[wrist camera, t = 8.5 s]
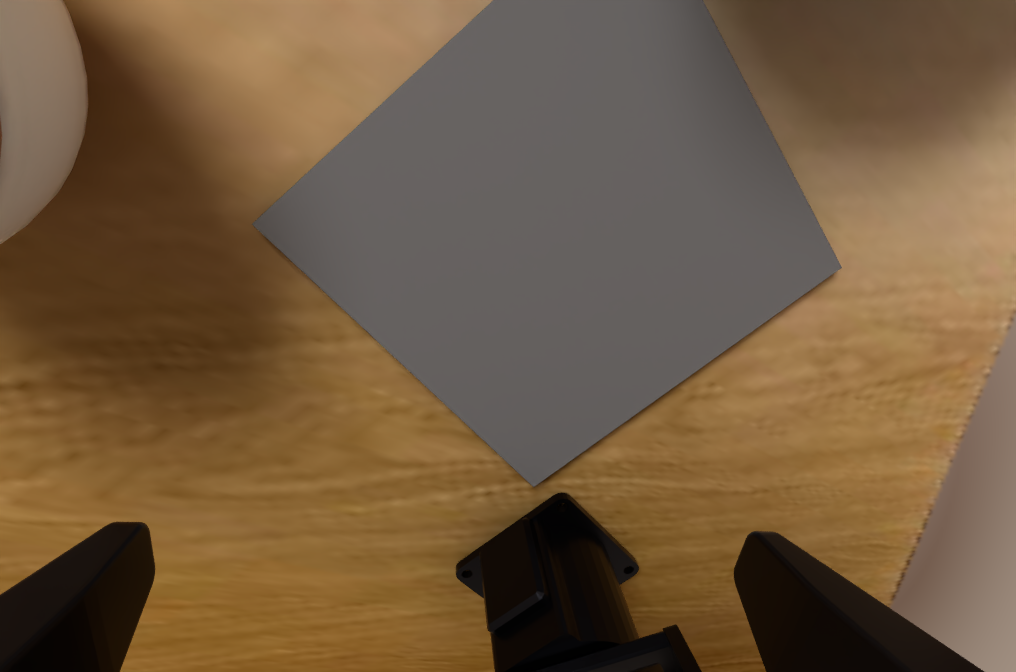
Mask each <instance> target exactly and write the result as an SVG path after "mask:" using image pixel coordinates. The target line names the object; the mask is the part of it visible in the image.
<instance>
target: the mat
mask: <svg viewBox="0 0 1016 672" xmlns="http://www.w3.org/2000/svg"><path fill="white" fill-rule="evenodd" d="M252 225H253V226H254V227H255V228H256V229H258V230H259V231H260V232H261V233H262V234H263V235H264V236H265V237H266V238H267V239H268V240H269V241H270V242H271V243H273V244H274V245H275V246H276V247H277V248H278V249H279V250H280V251H281V252H282V253H283V254H284V255H285V256H287V257H288V258H289V259H290V260H291V261H292V262H293V263H294V264H295V265H296V266H297V267H298V268H299V269H300V270H302V271H303V272H304V273H305V274H306V275H307V276H308V277H309V278H310V279H311V280H312V281H313V282H314V283H315V284H317V285H318V286H319V287H320V288H321V289H322V290H323V291H324V292H325V293H326V294H327V295H328V296H329V297H330V298H332V299H333V300H334V301H335V302H336V303H337V304H338V305H339V306H340V307H341V308H342V309H343V310H344V311H345V312H347V313H348V314H349V315H350V316H351V317H352V318H353V319H354V320H355V321H356V322H357V323H358V324H359V325H360V326H362V327H363V328H364V329H365V330H366V331H367V332H368V333H369V334H370V335H371V336H372V337H373V338H374V339H375V340H377V341H378V342H379V343H380V344H381V345H382V346H383V347H384V348H385V349H386V350H387V351H388V352H389V353H390V354H392V355H393V356H394V357H395V358H396V359H397V360H398V361H399V362H400V363H401V364H402V365H403V366H404V367H405V368H407V369H408V370H409V371H410V372H411V373H412V374H413V375H414V376H415V377H416V378H417V379H418V380H419V381H421V382H422V383H423V384H424V385H425V386H426V387H427V388H428V389H429V390H430V391H431V392H432V393H433V394H434V395H436V396H437V397H438V398H439V399H440V400H441V401H442V402H443V403H444V404H445V405H446V406H447V407H448V408H449V409H451V410H452V411H453V412H454V413H455V414H456V415H457V416H458V417H459V418H460V419H461V420H462V421H463V422H464V423H466V424H467V425H468V426H469V427H470V428H471V429H472V430H473V431H474V432H475V433H476V434H477V435H478V436H479V437H481V438H482V439H483V440H484V441H485V442H486V443H487V444H488V445H489V446H490V447H491V448H492V449H493V450H494V451H496V452H497V453H498V454H499V455H500V456H501V457H502V458H503V459H504V460H505V461H506V462H507V463H508V464H509V465H511V466H512V467H513V468H514V469H515V470H516V471H517V472H518V473H519V474H520V475H521V476H522V477H523V478H524V479H526V480H527V481H528V482H529V483H530V484H531V485H532V486H533V487H534V486H536V485H537V484H539V483H540V482H541V481H543V480H544V479H546V478H547V477H548V476H550V475H551V474H553V473H554V472H556V471H557V470H558V469H560V468H561V467H563V466H564V465H565V464H567V463H568V462H570V461H571V460H572V459H574V458H575V457H577V456H578V455H579V454H581V453H582V452H584V451H585V450H586V449H588V448H589V447H591V446H592V445H593V444H595V443H596V442H598V441H599V440H600V439H602V438H603V437H605V436H606V435H607V434H609V433H610V432H612V431H613V430H614V429H616V428H617V427H619V426H620V425H621V424H623V423H624V422H626V421H627V420H629V419H630V418H631V417H633V416H634V415H636V414H637V413H638V412H640V411H641V410H643V409H644V408H645V407H647V406H648V405H650V404H651V403H652V402H654V401H655V400H657V399H658V398H659V397H661V396H662V395H664V394H665V393H666V392H668V391H669V390H671V389H672V388H673V387H675V386H676V385H678V384H679V383H680V382H682V381H683V380H685V379H686V378H687V377H689V376H690V375H692V374H693V373H695V372H696V371H697V370H699V369H700V368H702V367H703V366H704V365H706V364H707V363H709V362H710V361H711V360H713V359H714V358H716V357H717V356H718V355H720V354H721V353H723V352H724V351H725V350H727V349H728V348H730V347H731V346H732V345H734V344H735V343H737V342H738V341H739V340H741V339H742V338H744V337H745V336H746V335H748V334H749V333H751V332H752V331H753V330H755V329H756V328H758V327H759V326H761V325H762V324H763V323H765V322H766V321H768V320H769V319H770V318H772V317H773V316H775V315H776V314H777V313H779V312H780V311H782V310H783V309H784V308H786V307H787V306H789V305H790V304H791V303H793V302H794V301H796V300H797V299H798V298H800V297H801V296H803V295H804V294H805V293H807V292H808V291H810V290H811V289H812V288H814V287H815V286H817V285H818V284H819V283H821V282H822V281H824V280H825V279H826V278H828V277H829V276H831V275H832V274H834V273H835V272H836V271H838V270H839V269H841V268H842V267H841V265H840V263H839V261H838V259H837V257H836V255H835V254H834V252H833V250H832V248H831V246H830V244H829V242H828V240H827V238H826V236H825V234H824V232H823V230H822V229H821V227H820V225H819V223H818V221H817V219H816V217H815V215H814V213H813V211H812V209H811V207H810V205H809V204H808V202H807V200H806V198H805V196H804V194H803V192H802V190H801V188H800V186H799V184H798V182H797V180H796V179H795V177H794V175H793V173H792V171H791V169H790V167H789V165H788V163H787V161H786V159H785V157H784V155H783V154H782V152H781V150H780V148H779V146H778V144H777V142H776V140H775V138H774V136H773V134H772V132H771V130H770V129H769V127H768V125H767V123H766V121H765V119H764V117H763V115H762V113H761V111H760V109H759V107H758V105H757V104H756V102H755V100H754V98H753V96H752V94H751V92H750V90H749V88H748V86H747V84H746V82H745V80H744V79H743V77H742V75H741V73H740V71H739V69H738V67H737V65H736V63H735V61H734V59H733V57H732V55H731V54H730V52H729V50H728V48H727V46H726V44H725V42H724V40H723V38H722V36H721V34H720V32H719V30H718V29H717V27H716V25H715V23H714V21H713V19H712V17H711V15H710V13H709V11H708V9H707V7H706V5H705V4H704V2H703V0H493V1H492V2H491V3H490V4H489V5H488V6H487V7H486V8H485V9H484V10H482V11H481V12H480V13H479V14H478V15H477V16H476V17H475V18H474V19H473V20H472V21H471V22H469V23H468V24H467V25H466V26H465V27H464V28H463V29H462V30H461V31H460V32H459V33H458V34H457V35H455V36H454V37H453V38H452V39H451V40H450V41H449V42H448V43H447V44H446V45H445V46H444V47H443V48H441V49H440V50H439V51H438V52H437V53H436V54H435V55H434V56H433V57H432V58H431V59H430V60H428V61H427V62H426V63H425V64H424V65H423V66H422V67H421V68H420V69H419V70H418V71H417V72H416V73H414V74H413V75H412V76H411V77H410V78H409V79H408V80H407V81H406V82H405V83H404V84H403V85H402V86H400V87H399V88H398V89H397V90H396V91H395V92H394V93H393V94H392V95H391V96H390V97H389V98H387V99H386V100H385V101H384V102H383V103H382V104H381V105H380V106H379V107H378V108H377V109H376V110H375V111H373V112H372V113H371V114H370V115H369V116H368V117H367V118H366V119H365V120H364V121H363V122H362V123H360V124H359V125H358V126H357V127H356V128H355V129H354V130H353V131H352V132H351V133H350V134H349V135H348V136H346V137H345V138H344V139H343V140H342V141H341V142H340V143H339V144H338V145H337V146H336V147H335V148H334V149H332V150H331V151H330V152H329V153H328V154H327V155H326V156H325V157H324V158H323V159H322V160H321V161H319V162H318V163H317V164H316V165H315V166H314V167H313V168H312V169H311V170H310V171H309V172H308V173H307V174H305V175H304V176H303V177H302V178H301V179H300V180H299V181H298V182H297V183H296V184H295V185H294V186H293V187H291V188H290V189H289V190H288V191H287V192H286V193H285V194H284V195H283V196H282V197H281V198H280V199H278V200H277V201H276V202H275V203H274V204H273V205H272V206H271V207H270V208H269V209H268V210H267V211H266V212H264V213H263V214H262V215H261V216H260V217H259V218H258V219H257V220H256V221H255V222H254V223H253V224H252Z"/></svg>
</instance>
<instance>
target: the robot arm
mask: <svg viewBox="0 0 1016 672" xmlns="http://www.w3.org/2000/svg"><path fill="white" fill-rule="evenodd" d="M561 503H565V504H564V505H562V506H558V505H559V504H561ZM465 570H469V571H465ZM638 570H639V567H638V564H637V562H636V560H635V558H634V557H633V556H632V555H631V554H630V553H629V552H628V551H627V550H626V549H625V548H624V547H623V546H622V545H620V544H619V543H618V542H617V541H616V540H615V539H614V538H613V537H612V536H611V535H610V534H609V533H608V532H607V531H606V530H605V529H604V528H603V527H602V526H601V525H600V524H599V523H598V522H597V521H596V520H595V519H594V518H593V517H591V516H590V515H589V514H588V513H587V512H586V511H585V510H584V509H583V508H582V507H581V506H580V505H579V504H578V503H577V502H576V501H575V500H574V499H573V498H572V497H571V496H570V495H568V494H567V493H557V494H555V495H553V496H552V497H551V498H549V499H548V500H546V501H545V502H543V503H542V504H541V505H539V506H538V507H536V508H535V509H534V510H532V511H531V512H529V513H528V514H526V515H525V516H524V517H522V518H521V519H519V520H518V521H516V522H515V523H514V524H512V525H511V526H509V527H508V528H507V529H505V530H504V531H502V532H501V533H499V534H498V535H497V536H495V537H494V538H492V539H491V540H489V541H488V542H487V543H485V544H484V545H482V546H481V547H479V548H478V549H477V550H475V551H474V552H472V553H471V554H470V555H468V556H467V557H465V558H464V559H462V560H461V561H460V562H459V563H458V564H457V565H456V576H457V578H458V579H459V580H460V581H461V582H462V583H464V584H465V585H466V586H468V587H469V588H470V589H472V590H473V591H474V592H476V593H477V594H478V595H480V596H481V597H482V598H484V603H485V612H486V622H487V629H488V631H489V632H490V633H491V642H492V651H493V660H494V669H495V672H702V671H701V670H700V668H699V666H698V664H697V662H696V660H695V658H694V656H693V655H692V653H691V651H690V649H689V647H688V645H687V643H686V641H685V639H684V638H683V636H682V634H681V632H680V630H679V628H678V626H677V625H672V626H669V627H666V628H663V631H662V632H659V633H655V634H652V635H649V636H645V637H642V638H639V636H638V633H637V631H636V628H635V625H634V623H633V620H632V617H631V614H630V612H629V609H628V606H627V604H626V601H625V598H624V596H623V593H622V590H621V587H620V584H622V583H623V582H625V581H626V580H628V579H629V578H631V577H632V576H634V575H635V574H636V573H637V572H638ZM154 576H155V562H154V556H153V549H152V543H151V537H150V531H149V528H148V526H147V525H146V524H145V523H142V522H113V523H110V524H108V525H107V526H105V527H103V528H102V529H100V530H99V531H97V532H96V533H94V534H93V535H91V536H89V537H88V538H86V539H85V540H83V541H82V542H80V543H79V544H77V545H76V546H74V547H73V548H71V549H70V550H68V551H67V552H65V553H63V554H62V555H60V556H59V557H57V558H56V559H54V560H53V561H51V562H50V563H48V564H47V565H45V566H44V567H42V568H41V569H39V570H37V571H36V572H34V573H33V574H31V575H30V576H28V577H27V578H25V579H24V580H22V581H21V582H19V583H18V584H16V585H15V586H13V587H11V588H10V589H8V590H7V591H5V592H4V593H2V594H1V595H0V672H120V670H121V667H122V664H123V662H124V659H125V656H126V654H127V651H128V648H129V646H130V643H131V640H132V638H133V635H134V632H135V630H136V627H137V624H138V622H139V619H140V616H141V614H142V611H143V608H144V606H145V603H146V600H147V598H148V595H149V592H150V590H151V587H152V584H153V581H154ZM734 580H735V585H736V588H737V590H738V593H739V596H740V599H741V602H742V605H743V607H744V610H745V613H746V616H747V619H748V622H749V624H750V627H751V630H752V633H753V636H754V639H755V641H756V644H757V647H758V650H759V653H760V655H761V658H762V661H763V664H764V666H765V669H766V672H984V671H983V670H981V669H980V668H978V667H976V666H975V665H974V664H972V663H970V662H969V661H968V660H966V659H964V658H963V657H961V656H960V655H959V654H957V653H956V652H954V651H953V650H951V649H950V648H948V647H947V646H945V645H944V644H942V643H941V642H939V641H938V640H936V639H935V638H933V637H932V636H931V635H929V634H927V633H926V632H924V631H923V630H922V629H920V628H919V627H917V626H915V625H914V624H913V623H911V622H910V621H908V620H907V619H905V618H904V617H902V616H901V615H899V614H898V613H896V612H894V611H893V610H892V609H890V608H889V607H887V606H886V605H884V604H883V603H881V602H880V601H878V600H877V599H875V598H874V597H872V596H871V595H869V594H868V593H866V592H865V591H863V590H862V589H860V588H859V587H857V586H856V585H854V584H853V583H851V582H850V581H849V580H847V579H846V578H844V577H843V576H841V575H840V574H838V573H837V572H835V571H834V570H832V569H831V568H829V567H828V566H826V565H825V564H823V563H822V562H820V561H819V560H817V559H816V558H814V557H813V556H811V555H810V554H808V553H807V552H805V551H804V550H802V549H801V548H799V547H798V546H796V545H795V544H793V543H792V542H790V541H789V540H787V539H786V538H784V537H783V536H781V535H780V534H778V533H776V532H766V531H754V532H751V533H750V534H749V535H748V536H747V538H746V540H745V542H744V545H743V547H742V550H741V552H740V555H739V557H738V560H737V562H736V565H735V568H734Z"/></svg>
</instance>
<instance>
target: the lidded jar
mask: <svg viewBox="0 0 1016 672" xmlns="http://www.w3.org/2000/svg"><path fill="white" fill-rule="evenodd" d="M87 113H88V89H87V75H86V70H85V65H84V60H83V55H82V50H81V45H80V42H79V40H78V37H77V34H76V31H75V28H74V25H73V22H72V19H71V17H70V14H69V11H68V9H67V7H66V5H65V3H64V1H63V0H0V244H1V243H3V242H4V241H6V240H7V239H9V238H10V237H11V236H13V235H14V234H16V233H17V232H19V231H20V230H21V229H23V228H24V227H26V226H27V225H28V224H29V223H30V222H31V221H32V220H33V219H34V218H35V217H36V216H37V215H38V214H39V213H40V212H41V211H42V209H43V208H44V207H45V206H46V205H47V204H48V203H49V202H50V201H51V200H52V199H53V198H54V197H55V196H56V195H57V193H58V192H59V191H60V189H61V187H62V186H63V184H64V182H65V181H66V179H67V177H68V175H69V174H70V172H71V170H72V168H73V166H74V163H75V161H76V158H77V155H78V152H79V149H80V146H81V143H82V140H83V137H84V135H85V127H86V120H87Z"/></svg>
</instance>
